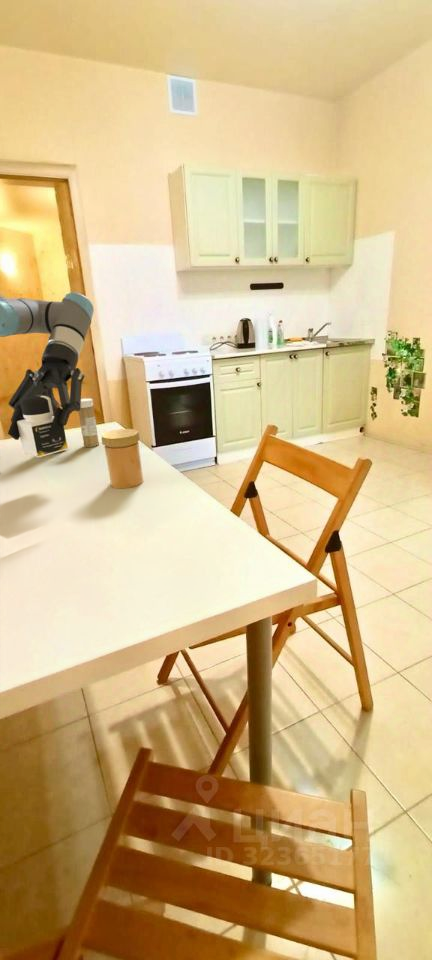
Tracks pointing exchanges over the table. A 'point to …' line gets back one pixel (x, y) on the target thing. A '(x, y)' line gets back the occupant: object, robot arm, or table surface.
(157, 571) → the table surface
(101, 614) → the table surface
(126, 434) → the lid
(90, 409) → the sprinkles bottle
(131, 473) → the jar
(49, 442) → the medicine bottle
